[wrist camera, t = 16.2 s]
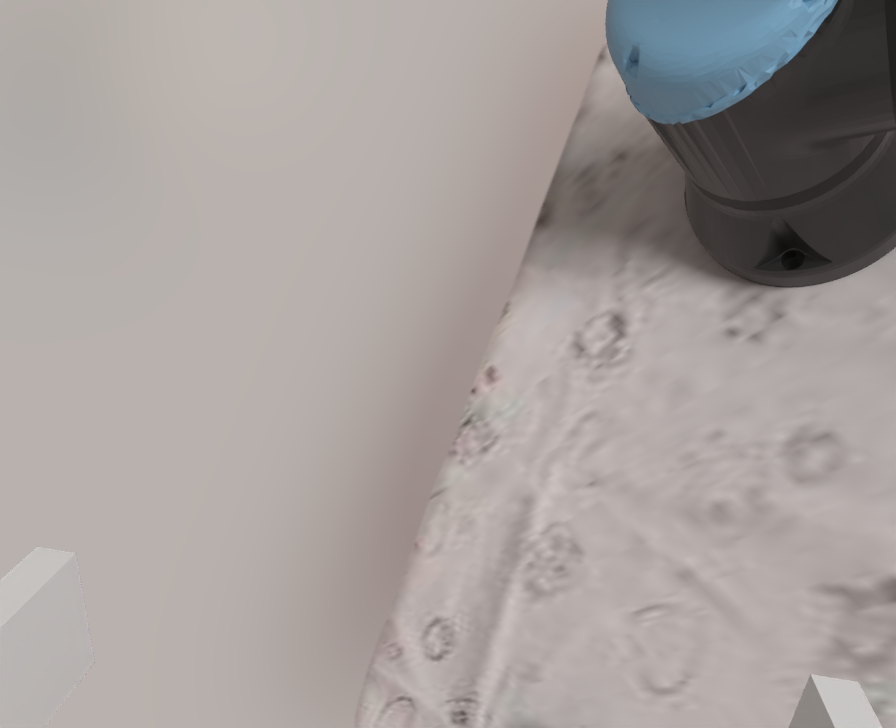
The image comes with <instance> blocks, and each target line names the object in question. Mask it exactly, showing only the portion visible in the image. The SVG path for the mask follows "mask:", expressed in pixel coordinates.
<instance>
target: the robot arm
mask: <svg viewBox="0 0 896 728" xmlns="http://www.w3.org/2000/svg"><path fill="white" fill-rule="evenodd" d="M606 38H607V44H608V48H609V52H610V55H611V58H612V60H613V62H614V64H615V66H616V68H617V70H618V72H619V74H620V76H621V78H622V80H623V82H624V84H625V85H626V91H627V93H628V95H630V100H631V102H632V103H633V105H634V106H635V108H636V109H637V110H638V111H639V112H640V113H642V114H643V115H645V117H646V118H647V119H648V121H649V122H650V124H651V125H652V126H653V128H654V129H655V131H656V132H657V133H658V135H659V136H660V138H661V139H662V140H663V142H664V143H665V145H666V146H667V147H668V149H669V150H670V152H671V153H672V155H673V156H674V157H675V159H676V160H677V162H678V163H679V164H680V166H681V167H682V169H683V170H684V171H685V206H686V211H687V215H688V218H689V221H690V224H691V226H692V229H693V231H694V233H695V234H696V236H697V238H698V239H699V240H700V242H701V243H702V245H703V246H704V247H705V248H706V250H707V251H708V252H709V253H710V255H711V256H712V257H713V258H714V259H715V260H716V261H717V262H718V263H719V264H721V265H722V266H723V267H725V268H726V269H728V270H729V271H731V272H732V273H734V274H736V275H738V276H740V277H742V278H745V279H747V280H750V281H753V282H757V283H761V284H766V285H772V286H783V287H797V286H809V285H815V284H821V283H825V282H829V281H833V280H836V279H839V278H842V277H845V276H848V275H850V274H853V273H855V272H857V271H859V270H861V269H863V268H865V267H867V266H869V265H871V264H872V263H874V262H876V261H877V260H879V259H880V258H882V257H883V256H885V255H886V254H887V253H889V252H890V251H891V250H892V249H894V248H895V247H896V0H608V3H607V10H606ZM94 663H95V661H94V656H93V650H92V644H91V638H90V633H89V627H88V620H87V614H86V608H85V603H84V597H83V591H82V585H81V579H80V573H79V568H78V562H77V556H76V553H74V552H68V551H61V550H55V549H49V548H43V547H37V548H35V549H34V550H33V551H32V552H31V553H30V554H29V555H28V556H27V557H26V558H24V559H23V560H22V561H21V562H20V563H19V564H18V565H17V566H15V567H14V568H13V569H12V570H11V571H10V572H9V573H8V574H7V575H5V576H4V577H3V578H2V579H1V580H0V728H44V727H45V726H46V724H47V723H48V722H49V721H50V719H51V718H52V716H53V715H54V714H55V713H56V712H57V710H58V709H59V708H60V707H61V705H62V704H63V703H64V701H65V700H66V699H67V698H68V696H69V695H70V694H71V692H72V691H73V690H74V689H75V687H76V686H77V685H78V684H79V682H80V681H81V680H82V678H83V677H84V676H85V675H86V673H87V672H88V671H89V670H90V668H91V667H92V665H93V664H94ZM789 728H882V726H881V724H880V722H879V720H878V718H877V717H876V715H875V713H874V711H873V709H872V707H871V705H870V703H869V701H868V699H867V698H866V696H865V694H864V692H863V690H862V688H861V686H860V684H859V682H855V681H849V680H843V679H837V678H831V677H824V676H818V675H812V674H810V677H809V679H808V682H807V684H806V687H805V689H804V691H803V694H802V696H801V699H800V701H799V704H798V706H797V709H796V711H795V714H794V716H793V718H792V721H791V723H790V726H789Z"/></svg>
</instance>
